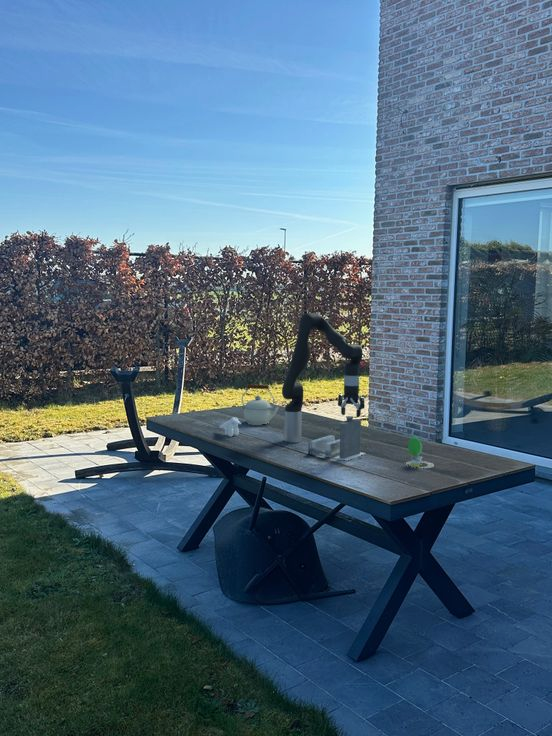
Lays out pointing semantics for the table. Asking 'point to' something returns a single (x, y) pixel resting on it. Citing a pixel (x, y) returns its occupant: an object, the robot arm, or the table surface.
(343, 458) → the mat
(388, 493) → the table surface
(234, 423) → the white dinosaur figurine
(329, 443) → the vise
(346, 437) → the hip flask
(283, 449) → the table surface
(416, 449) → the train set
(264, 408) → the kettle
